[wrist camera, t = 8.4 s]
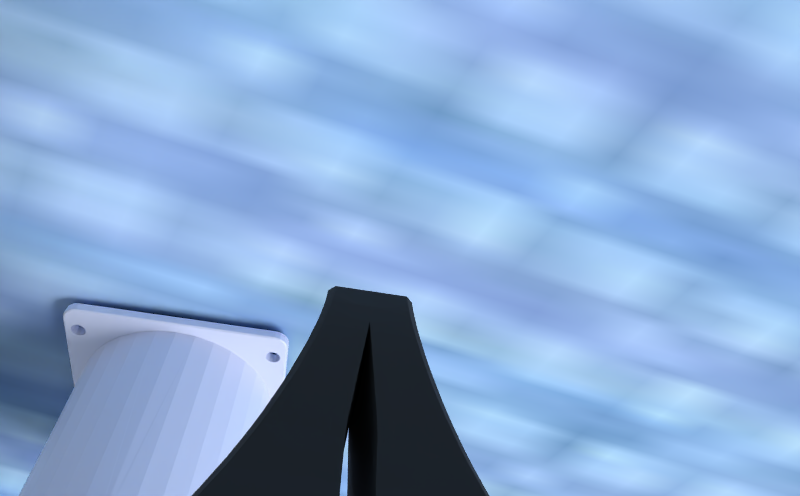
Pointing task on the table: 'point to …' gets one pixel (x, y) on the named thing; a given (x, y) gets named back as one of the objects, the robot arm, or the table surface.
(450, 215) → the table surface
